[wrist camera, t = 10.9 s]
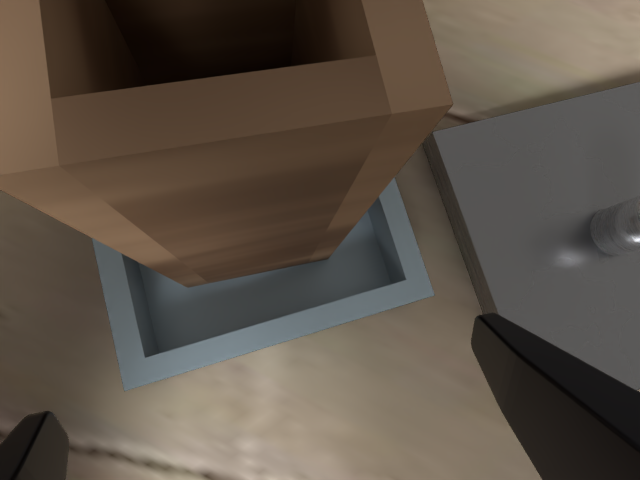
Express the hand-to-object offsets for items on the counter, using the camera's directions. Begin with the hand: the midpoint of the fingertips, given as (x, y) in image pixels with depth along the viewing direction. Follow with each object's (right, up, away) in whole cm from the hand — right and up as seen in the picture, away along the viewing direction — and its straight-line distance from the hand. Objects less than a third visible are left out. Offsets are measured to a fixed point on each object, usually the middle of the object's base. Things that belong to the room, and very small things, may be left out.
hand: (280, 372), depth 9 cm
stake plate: (+13, +3, +10) cm, 16 cm away
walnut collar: (-2, +4, +8) cm, 9 cm away
